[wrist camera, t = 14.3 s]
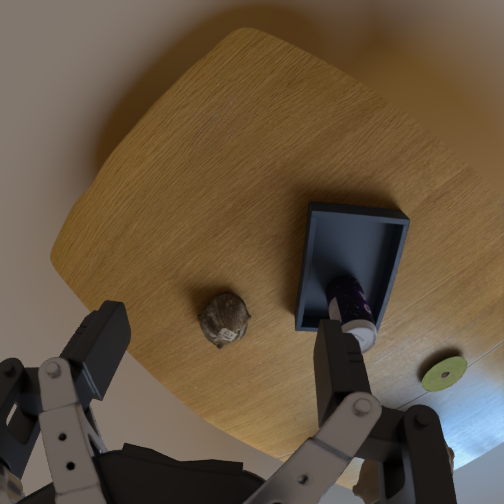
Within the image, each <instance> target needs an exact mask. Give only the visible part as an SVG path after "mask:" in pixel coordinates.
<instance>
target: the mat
mask: <svg viewBox="0 0 504 504" xmlns="http://www.w3.org/2000/svg"><path fill="white" fill-rule="evenodd" d="M466 369H467V361H466V359H464V358H463V357H452V358H448V359H446V360H443V361H442V362H440V363H438V364H436V365H435V366H434V367H433V368H431V369H430V370H429V371H428V372H427V373H426V375H425V376H424V378H423V380H422V387H423V389H425V390H426V391H429V392H436V391H440V390H444V389H446V388H448V387H450V386H451V385H453V384H454V383H456V382H457V381H458V380H459V379H460V378H461V377H462V376H463V374H464V372H465V371H466Z"/></svg>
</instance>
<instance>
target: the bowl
mask: <svg viewBox="0 0 504 504" xmlns="http://www.w3.org/2000/svg"><path fill="white" fill-rule="evenodd" d="M444 440H445V439H444ZM445 444H446V448H447V453H448V458H449V462H450V467H451V472H452V476H453V467H454V462H453V459H454V457H455V456H454V452H453V450H452V449H451V448H450V447H448V445H447V443H446V441H445ZM353 493H354V494H355V495H356V496H359V497H360V498H362V499H363V501H364V502H365V504H380V488H379V474H378V462H376V461H372V460H367V459H365V460H364V462H363V464H362V467H361V470H360V475H359V480H358V483H357V485H354V486H353Z"/></svg>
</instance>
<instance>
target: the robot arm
mask: <svg viewBox="0 0 504 504" xmlns="http://www.w3.org/2000/svg"><path fill="white" fill-rule="evenodd" d="M130 339H131V329H130V325H129V321H128V317H127V313H126V309H125V305H124V303H123V302H117V301H110V300H106V301H104V302H103V304H102V305H101V307H100V308H99V310H98V311H96V310H94V311H93V312H92V313H90V314H89V315H87V316H86V317H85V318H84V320H83V322H82V323H81V324H80V327H78V329H77V330H76V332H75V334H74V335H73V336H72V338H71V339H70V341H69V342H68V344H67V345H66V347H65V348H64V350H63V351H62V353H61V354H60V356H59V357H54V358H50V359H48V360H46V361H45V362H43V363H42V365H41V366H40V367H39V368H38V367H36V368H24V366H23V364H22V363H21V361H20V360H19V359H17V358H9V359H6V360H4V361H2V362H1V363H0V504H318V503H319V501H320V500H321V499H322V498H323V497H324V496H325V494H326V493H327V492H328V491H329V489H330V488H331V487H332V486H333V484H334V483H335V482H336V480H337V479H338V478H339V477H340V475H341V474H342V473H343V471H344V470H345V469H346V467H347V466H348V465H349V463H350V462H351V460H352V459H353V458H354V457H358V458H362V459H367V460H372V461H376V462H378V474H379V488H380V504H457V501H456V494H455V489H454V483H453V477H452V472H451V467H450V462H449V458H448V453H447V448H446V444H445V440H444V436H443V432H442V428H441V424H440V420H439V417H438V415H437V413H436V412H435V411H434V410H433V409H432V408H430V407H428V406H426V405H414V406H411V407H410V408H408V409H407V411H406V412H404V411H399V410H394V409H390V408H387V407H384V406H382V405H381V404H380V402H379V400H378V399H377V398H376V397H375V396H373V395H372V393H371V389H370V385H369V381H368V376H367V372H366V368H365V364H364V362H363V361H364V360H363V356H362V354H361V353H362V352H361V348H360V344H359V341H358V340H357V339H356V337H355V336H354V335H353V334H352V333H343V331H342V326H341V322H340V320H337V319H321V320H320V323H319V328H318V332H317V337H316V342H315V346H314V357H313V360H314V372H315V383H316V395H317V408H318V422H319V428H320V429H319V430H318V432H317V433H316V434H315V435H314V436H313V437H309V438H308V439H307V440H305V441H304V443H303V444H302V445H301V446H300V447H299V448H298V449H297V450H296V451H295V452H294V453H293V454H292V455H291V457H290V458H289V459H288V460H287V461H286V462H285V463H284V464H283V465H282V466H281V467H280V468H279V469H278V470H277V471H276V472H275V473H274V474H273V475H272V476H271V477H270V478H269V479H268V480H267V481H266V480H265V479H263V478H262V477H260V476H258V475H256V474H254V473H252V472H249V471H246V470H243V462H232V461H222V460H214V459H210V460H198V461H177V460H175V459H172V458H170V457H168V456H166V455H163V454H161V453H159V452H157V451H155V450H153V449H149V448H145V447H140V446H136V445H132V444H128V443H124V446H123V448H122V450H113V451H108V450H107V448H106V447H105V445H104V443H103V440H102V438H101V435H100V432H99V429H98V426H97V423H96V420H95V417H94V414H93V411H92V408H91V405H90V402H91V400H92V398H93V399H97V400H100V401H102V400H103V397H104V395H105V393H106V391H107V389H108V387H109V385H110V382H111V380H112V378H113V376H114V374H115V372H116V370H117V368H118V366H119V363H120V361H121V359H122V357H123V355H124V353H125V351H126V349H127V347H128V345H129V343H130ZM14 403H15V404H16V406H17V408H16V410H15V412H14V414H13V416H12V418H11V420H10V422H9V424H8V426H7V424H6V420H7V417H8V415H9V413H10V411H11V409H12V407H13V405H14ZM40 431H41V433H42V439H43V443H44V448H45V452H46V456H47V461H48V465H49V469H50V473H51V477H52V480H53V482H51V483H50V484H48V485H46V486H44V487H43V488H41V489H39V490H37V491H35V492H34V493H32V494H30V495H28V496H26V497H25V494H24V492H23V486H22V483H21V478H22V476H23V473H24V470H25V467H26V465H27V463H28V460H29V457H30V455H31V452H32V450H33V447H34V445H35V442H36V440H37V438H38V436H39V433H40Z"/></svg>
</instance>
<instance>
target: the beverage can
mask: <svg viewBox="0 0 504 504" xmlns="http://www.w3.org/2000/svg"><path fill="white" fill-rule="evenodd" d="M325 295H326V300H327V305H328V310H329V315H330V319H337V320H340V322H341V326H342V331H343V333H352V334H353V335H354V336H355V337H356V339H357V340H358V341H359V344H360V348H361V352H362V353H361V354H363V353H365V352H367V351H368V350H370V349H371V348H372V347H373V345H374V344H375V341H376V334H377V328H376V325H375V322H374V319H373V316H372V314H371V311H370V308H369V305H368V302H367V300H366V297H365V294H364V292H363V289H362V286H361V284H360V282H359V281H358V280H357V279H356V278H354V277H351V276H342V277H338V278H336V279H334V280H333V281H331V282H330V283H329V285H328V286H327V288H326V292H325Z"/></svg>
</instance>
